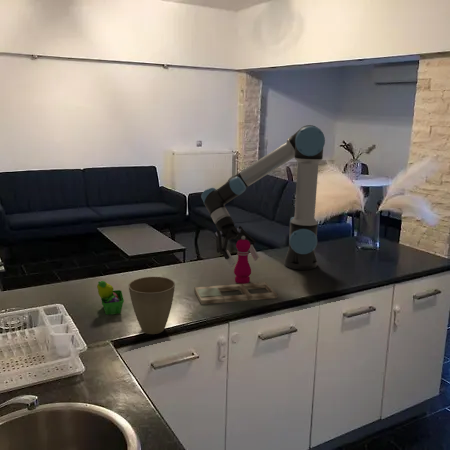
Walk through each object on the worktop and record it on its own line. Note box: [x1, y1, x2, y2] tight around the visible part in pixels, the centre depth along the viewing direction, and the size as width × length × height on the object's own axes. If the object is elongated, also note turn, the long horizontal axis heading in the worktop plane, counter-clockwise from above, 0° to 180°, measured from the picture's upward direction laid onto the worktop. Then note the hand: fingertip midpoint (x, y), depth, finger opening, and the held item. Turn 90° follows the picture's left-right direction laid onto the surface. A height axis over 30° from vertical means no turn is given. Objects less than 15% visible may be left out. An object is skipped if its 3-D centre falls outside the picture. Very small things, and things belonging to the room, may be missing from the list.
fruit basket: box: [96, 280, 125, 316], centre depth 181 cm, size 11×9×11 cm
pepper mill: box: [233, 236, 252, 284], centre depth 211 cm, size 7×7×20 cm
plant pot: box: [128, 276, 176, 335], centre depth 165 cm, size 15×15×16 cm
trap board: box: [193, 281, 278, 305], centre depth 198 cm, size 30×14×2 cm, turn 104°
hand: (245, 262), depth 210 cm, fingers open, 13 cm apart
